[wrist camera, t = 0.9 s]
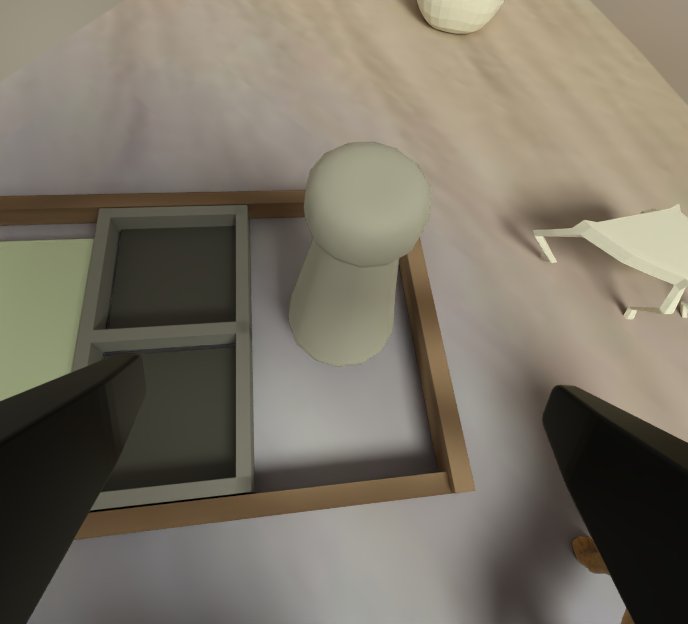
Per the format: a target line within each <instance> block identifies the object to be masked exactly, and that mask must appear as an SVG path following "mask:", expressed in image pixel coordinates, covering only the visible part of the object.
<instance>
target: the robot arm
mask: <svg viewBox="0 0 688 624" xmlns="http://www.w3.org/2000/svg"><path fill="white" fill-rule="evenodd" d="M145 395H146V379H145V371H144V362H143V359H142V357H141V356H140V355H139V354H132V353H118V354H116V355H113V356H111V357H108V358H106V359H103V360H101V361H98V362H96V363H93V364H91V365H88V366H86V367H83V368H81V369H78V370H76V371H73V372H71V373H69V374H66V375H64V376H61V377H59V378H56V379H54V380H51V381H49V382H46V383H44V384H41V385H39V386H36V387H34V388H31V389H29V390H26V391H24V392H21V393H19V394H17V395H14V396H12V397H9V398H7V399H4V400H2V401H0V624H26V623H27V622H28V620H29V618H30V616H31V614H32V613H33V611H34V609H35V607H36V606H37V604H38V602H39V600H40V599H41V597H42V595H43V593H44V591H45V590H46V588H47V586H48V584H49V583H50V581H51V579H52V577H53V576H54V574H55V572H56V570H57V568H58V567H59V565H60V563H61V561H62V560H63V558H64V556H65V554H66V553H67V551H68V549H69V547H70V545H71V544H72V542H73V540H74V538H75V537H76V535H77V533H78V531H79V530H80V528H81V526H82V524H83V522H84V521H85V519H86V517H87V515H88V514H89V512H90V510H91V508H92V506H93V505H94V503H95V501H96V499H97V498H98V496H99V494H100V492H101V491H102V489H103V487H104V485H105V483H106V482H107V480H108V478H109V476H110V475H111V473H112V471H113V469H114V467H115V465H116V464H117V462H118V460H119V457H120V455H121V453H122V451H123V448H124V446H125V444H126V441H127V439H128V437H129V434H130V432H131V430H132V427H133V425H134V422H135V420H136V418H137V415H138V413H139V411H140V408H141V406H142V404H143V401H144V399H145ZM542 421H543V426H544V429H545V431H546V434H547V437H548V439H549V442H550V445H551V447H552V450H553V453H554V455H555V458H556V461H557V463H558V466H559V469H560V471H561V474H562V477H563V479H564V481H565V484H566V486H567V488H568V491H569V493H570V495H571V497H572V499H573V501H574V503H575V505H576V507H577V509H578V511H579V513H580V515H581V517H582V519H583V521H584V523H585V525H586V527H587V529H588V531H589V533H590V536H591V538H592V540H593V542H594V544H595V546H596V548H597V550H598V552H599V554H600V556H601V558H602V560H603V562H604V564H605V566H606V568H607V570H608V572H609V574H610V576H611V578H612V580H613V582H614V584H615V586H616V588H617V590H618V592H619V594H620V596H621V598H622V600H623V602H624V604H625V606H626V608H627V610H628V612H629V614H630V616H631V618H632V620H633V622H634V624H688V443H687V442H685V441H683V440H681V439H679V438H677V437H675V436H673V435H671V434H669V433H667V432H665V431H663V430H661V429H659V428H657V427H655V426H653V425H651V424H649V423H647V422H645V421H643V420H642V419H640V418H638V417H636V416H634V415H632V414H630V413H628V412H626V411H624V410H622V409H620V408H618V407H616V406H614V405H612V404H610V403H608V402H606V401H604V400H602V399H600V398H598V397H596V396H594V395H592V394H590V393H588V392H586V391H584V390H582V389H580V388H578V387H576V386H570V385H557V386H555V387H554V388H553V389H552V391H551V394H550V397H549V399H548V402H547V405H546V407H545V410H544V413H543V418H542Z"/></svg>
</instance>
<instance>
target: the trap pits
mask: <svg viewBox="0 0 688 624" xmlns="http://www.w3.org/2000/svg"><path fill="white" fill-rule="evenodd" d="M120 232H121V238H120V245H119V252H118V244H119V237H120ZM117 252H118V259H117ZM116 259H117V267H116V274H115V281H114V288H113V296H112V303H111V310H110V317H109V325H108V329H107V323H108V316H109V309H110V302H111V295H112V287H113V280H114V273H115V266H116ZM231 343H236V347H229V348H214V349H200V350H185V351H171V352H156V353H142V354H139V355H140V356H141V357H142V359H143V362H144V371H145V379H146V395H145V399H144V401H143V404H142V406H141V408H140V411H139V413H138V415H137V418H136V420H135V422H134V425H133V427H132V430H131V432H130V434H129V437H128V439H127V441H126V444H125V446H124V448H123V451H122V453H121V455H120V457H119V460H118V462H117V464H116V465H115V467H114V469H113V471H112V473H111V475H110V476H109V478H108V480H107V482H106V483H105V485H104V487H103V489H102V491H101V492H100V494H99V496H98V498H97V499H96V501H95V503H94V505H93V506H92V508H91V510H90V511H97V510H106V509H115V508H123V507H132V506H141V505H150V504H158V503H167V502H176V501H184V500H193V499H202V498H210V497H219V496H228V495H237V494H245V493H254V492H255V485H254V428H253V371H252V313H251V256H250V218H249V212H248V207H247V205H223V206H182V207H141V208H99V214H98V220H97V226H96V232H95V237H94V243H93V249H92V255H91V261H90V267H89V273H88V279H87V285H86V291H85V296H84V302H83V308H82V314H81V320H80V326H79V332H78V338H77V344H76V350H75V355H74V361H73V367H72V372H73V371H76V370H78V369H81V368H83V367H86V366H88V365H91V364H93V363H96V362H98V361H101V360H102V359H103V352H112V351H127V350H142V349H156V348H171V347H186V346H201V345H216V344H231ZM112 356H113V355H112ZM108 357H111V356H104V359H106V358H108Z"/></svg>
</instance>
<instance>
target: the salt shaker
mask: <svg viewBox="0 0 688 624" xmlns="http://www.w3.org/2000/svg"><path fill="white" fill-rule="evenodd" d="M430 210H431V185H430V183H429V182H428V180H427V178H426V177H425V175H424V173H423V172H422V170H421V168H420V167H419V165H418V164H417V163H415V162H414V161H413V160H412V159H410V158H409V157H407V156H406V155H405V154H403V153H402V152H401V151H399V150H398V149H397V148H394V147H390V146H387V145H383V144H380V143H376V142H356V143H347V144H345V145H343V146H340V147H338V148H336V149H334V150H331V151H329V152H327V153H325V154H324V155H323V156H322V157H321V158H320V160H319V161H318V162H317V163H316V164H315V165H314V167H313V168H312V169H311V170H310V173H309V177H308V181H307V185H306V193H305V201H304V212H305V219H306V221H307V224H308V226H309V229H310V231H311V234H312V236H313V240H312V243H311V246H310V248H309V251H308V253H307V256H306V259H305V261H304V264H303V267H302V269H301V272H300V275H299V277H298V280H297V283H296V285H295V288H294V291H293V293H292V296H291V301H290V310H289V318H288V320H289V323H290V326H291V329H292V331H293V334H294V337H295V340H296V342H297V344H298V345H299V346H300V347H301V348H303V349H304V350H305V351H306V352H307V353H308V354H309V355H310V356H311V357H312V358H313V359H315V360H318V361H321V362H324V363H327V364H330V365H333V366H336V367H341V366H349V365H357V364H361V363H363V362H365V361H366V360H368V359H369V358H371V357H372V356H374V355H375V354H377V353H379V352H380V351H381V350H382V349H383V347H384V345H385V344H386V342H387V340H388V338H389V336H390V335H391V333H392V331H393V322H394V307H395V291H396V282H397V273H398V264H399V258H401V257H403V256H404V255H406V254H408V253H409V252H410V251H412V249H413V247H414V246H415V244H416V242H417V240H418V239H419V237H420V235H421V234H422V232H423V230H424V228H425V226H426V224H427V223H428V221H429V215H430Z"/></svg>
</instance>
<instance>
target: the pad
mask: <svg viewBox="0 0 688 624" xmlns="http://www.w3.org/2000/svg"><path fill="white" fill-rule="evenodd" d="M93 243H94V239H65V240H35V241H5V242H0V401H2V400H4V399H7V398H9V397H12V396H14V395H17V394H19V393H21V392H24V391H26V390H29V389H31V388H34V387H36V386H39V385H41V384H44V383H46V382H49V381H51V380H54V379H56V378H59V377H61V376H64V375H66V374H69V373H71V372H72V367H73V361H74V355H75V350H76V344H77V338H78V332H79V326H80V320H81V314H82V308H83V302H84V296H85V291H86V285H87V279H88V273H89V267H90V261H91V255H92V249H93Z"/></svg>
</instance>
